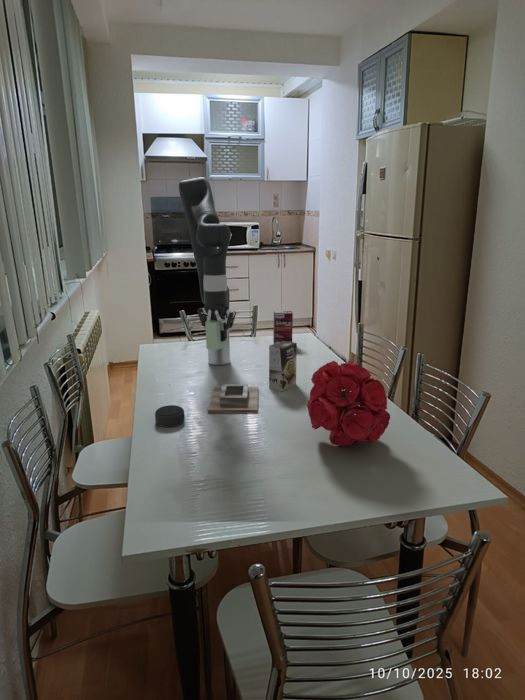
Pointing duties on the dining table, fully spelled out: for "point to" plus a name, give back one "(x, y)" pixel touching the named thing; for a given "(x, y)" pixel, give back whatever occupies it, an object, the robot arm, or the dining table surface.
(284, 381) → the coffee box
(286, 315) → the supplement box
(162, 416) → the smart speaker
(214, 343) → the keyed block
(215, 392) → the keyed holder
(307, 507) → the dining table surface
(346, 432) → the bouquet
